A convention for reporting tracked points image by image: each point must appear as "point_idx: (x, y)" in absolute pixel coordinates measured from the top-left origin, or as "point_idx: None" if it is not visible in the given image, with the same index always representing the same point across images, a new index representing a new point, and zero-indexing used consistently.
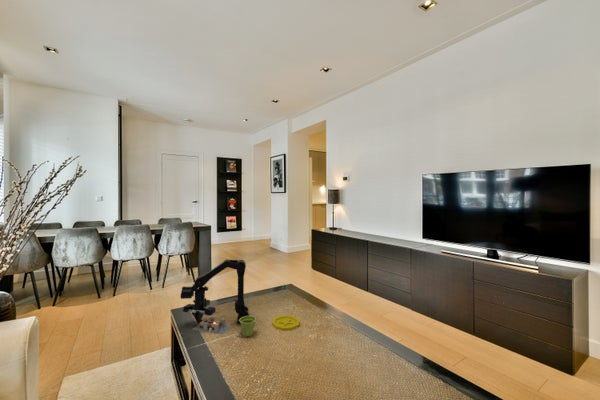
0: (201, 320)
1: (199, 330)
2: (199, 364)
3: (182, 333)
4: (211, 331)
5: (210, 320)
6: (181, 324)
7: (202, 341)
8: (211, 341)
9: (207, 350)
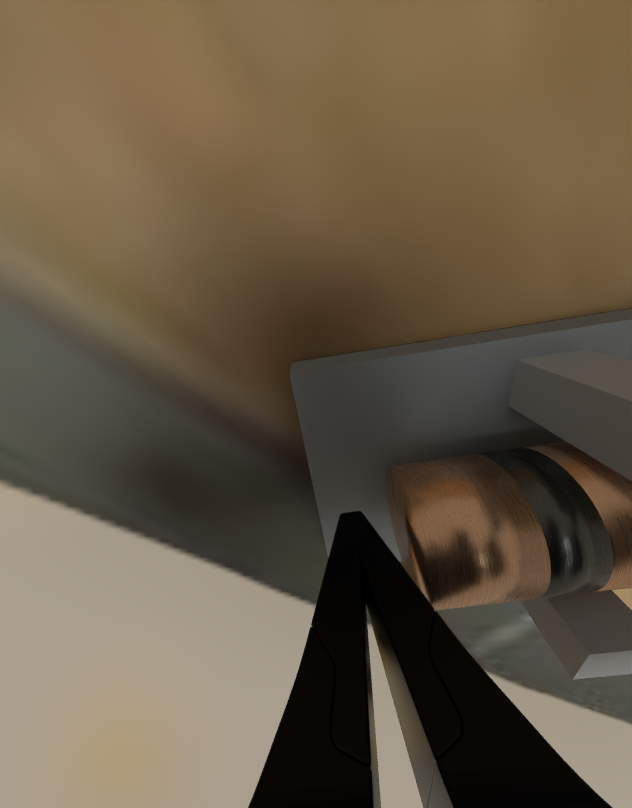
0: (448, 607)
1: None
2: (598, 694)
3: (266, 586)
4: None
5: (609, 459)
6: (51, 486)
7: None
8: None
9: None
